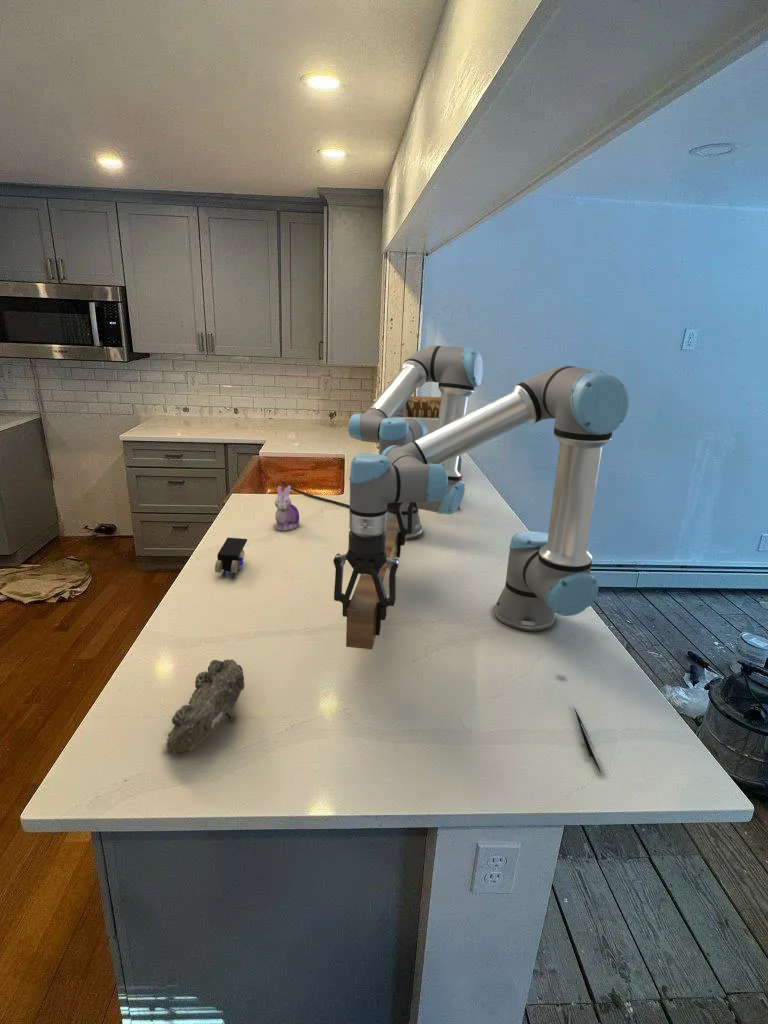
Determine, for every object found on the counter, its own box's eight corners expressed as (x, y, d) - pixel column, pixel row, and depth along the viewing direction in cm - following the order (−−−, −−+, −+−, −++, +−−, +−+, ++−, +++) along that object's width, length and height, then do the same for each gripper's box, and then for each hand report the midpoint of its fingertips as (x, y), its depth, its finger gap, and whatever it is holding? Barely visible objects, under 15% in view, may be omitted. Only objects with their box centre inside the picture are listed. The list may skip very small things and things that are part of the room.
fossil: (192, 660, 117) (244, 628, 112) (224, 691, 120) (276, 661, 115) (142, 746, 98) (202, 712, 93) (182, 779, 101) (242, 748, 96)
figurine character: (238, 584, 162) (249, 557, 175) (236, 562, 158) (247, 536, 172) (215, 584, 161) (227, 556, 175) (212, 561, 158) (225, 535, 171)
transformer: (382, 463, 289) (386, 382, 275) (445, 464, 293) (451, 384, 279) (390, 482, 257) (394, 392, 243) (460, 483, 261) (468, 394, 247)
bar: (381, 546, 168) (382, 519, 165) (399, 548, 167) (401, 520, 164) (346, 646, 117) (346, 609, 114) (372, 649, 116) (373, 612, 114)
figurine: (278, 533, 195) (277, 491, 190) (270, 523, 204) (269, 483, 199) (304, 529, 199) (304, 488, 194) (295, 519, 208) (294, 480, 203)
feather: (561, 682, 125) (567, 675, 124) (600, 777, 98) (608, 769, 98) (555, 678, 125) (561, 671, 124) (592, 772, 98) (600, 765, 98)
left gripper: (355, 477, 151) (353, 556, 159) (425, 482, 149) (419, 562, 157) (359, 469, 158) (357, 546, 166) (426, 474, 156) (421, 551, 164)
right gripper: (318, 533, 112) (317, 635, 120) (411, 541, 110) (405, 644, 118) (326, 520, 119) (325, 617, 127) (414, 528, 117) (408, 626, 125)
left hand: (387, 554), depth 161 cm, fingers closed on bar, 6 cm apart
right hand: (363, 630), depth 122 cm, fingers closed on bar, 5 cm apart
